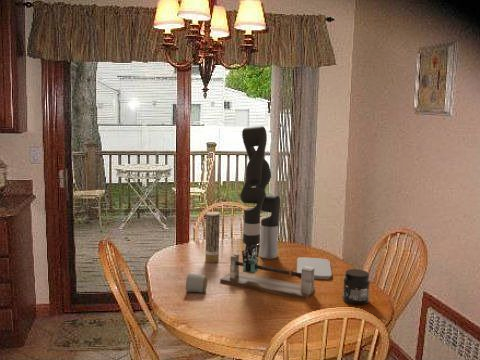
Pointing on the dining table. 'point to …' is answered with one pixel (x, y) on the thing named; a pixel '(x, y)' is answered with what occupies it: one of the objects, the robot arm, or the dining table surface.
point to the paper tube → (212, 236)
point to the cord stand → (272, 280)
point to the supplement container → (356, 287)
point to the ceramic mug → (196, 283)
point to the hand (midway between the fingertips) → (250, 269)
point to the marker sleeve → (253, 263)
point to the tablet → (319, 264)
